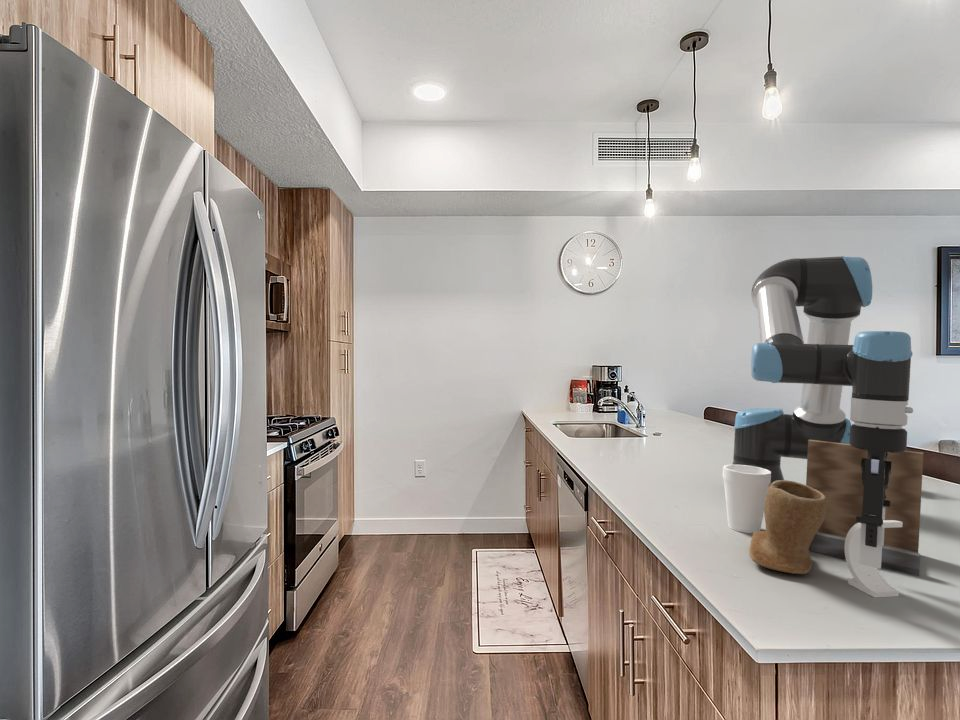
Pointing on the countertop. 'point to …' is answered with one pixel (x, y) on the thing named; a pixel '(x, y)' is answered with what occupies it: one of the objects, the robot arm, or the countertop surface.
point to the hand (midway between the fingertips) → (872, 554)
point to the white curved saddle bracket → (866, 575)
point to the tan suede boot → (788, 527)
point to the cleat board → (842, 486)
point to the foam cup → (745, 496)
